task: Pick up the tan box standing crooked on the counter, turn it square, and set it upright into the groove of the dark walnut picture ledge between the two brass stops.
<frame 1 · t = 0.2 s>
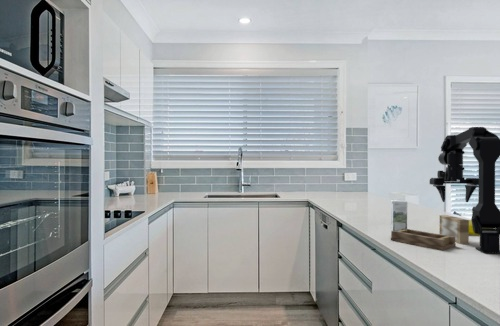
hand: (455, 202, 150), 14 cm above the worktop, fingers open, 9 cm apart
tan box: (453, 240, 141), on the worktop
walnut ledge: (421, 243, 136), on the worktop
syrup box: (399, 234, 154), on the worktop
element tile: (467, 232, 158), on the worktop
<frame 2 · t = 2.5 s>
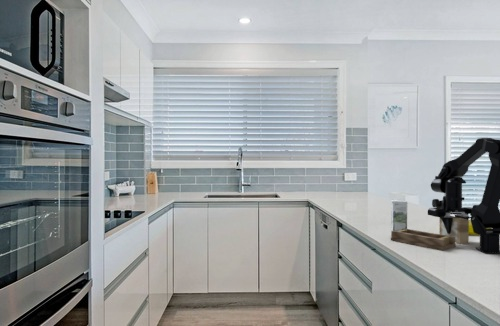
hand: (453, 233, 141), 3 cm above the worktop, fingers closed on tan box, 4 cm apart
tan box: (453, 240, 141), on the worktop, touching gripper
everything else where it was.
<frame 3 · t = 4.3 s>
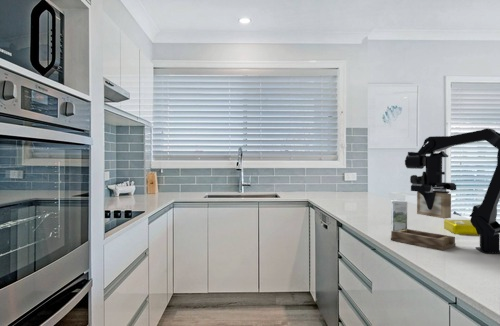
hand: (433, 209, 138), 13 cm above the worktop, fingers closed on tan box, 4 cm apart
tan box: (433, 215, 138), point 10 cm above the worktop, touching gripper
everything else where it was.
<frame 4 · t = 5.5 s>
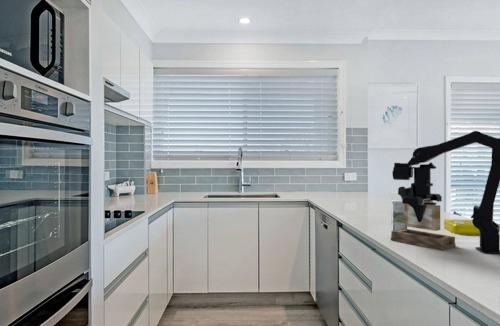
hand: (422, 221, 136), 8 cm above the worktop, fingers closed on tan box, 4 cm apart
tan box: (422, 227, 136), point 6 cm above the worktop, touching gripper
everything else where it was.
when the fingers open (5 cm above the worktop, at t = 6.4 s): tan box drops 1 cm, resting on walnut ledge.
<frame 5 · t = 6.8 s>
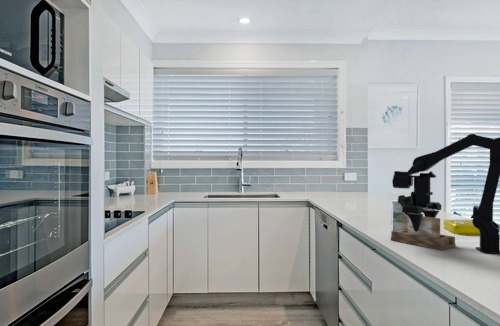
hand: (422, 230, 136), 5 cm above the worktop, fingers open, 8 cm apart
tan box: (421, 240, 136), point 1 cm above the worktop, touching walnut ledge
everything else where it was.
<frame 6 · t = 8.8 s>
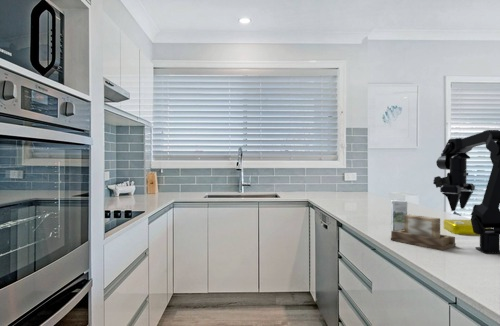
hand: (457, 209, 141), 12 cm above the worktop, fingers open, 9 cm apart
nothing on the worktop moved.
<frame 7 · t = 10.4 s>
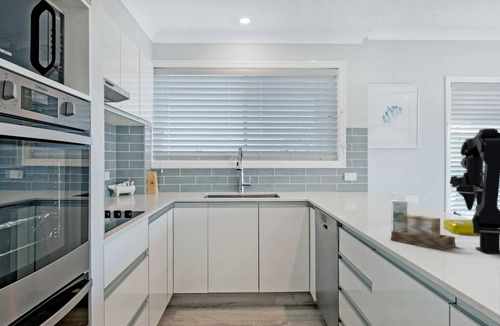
hand: (474, 209, 143), 12 cm above the worktop, fingers open, 9 cm apart
nothing on the worktop moved.
at the end: tan box 0.0 cm off-centre on the walnut ledge, point 1.0 cm above the walnut ledge's base; tan box tilted 0°; the gripper is holding nothing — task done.
